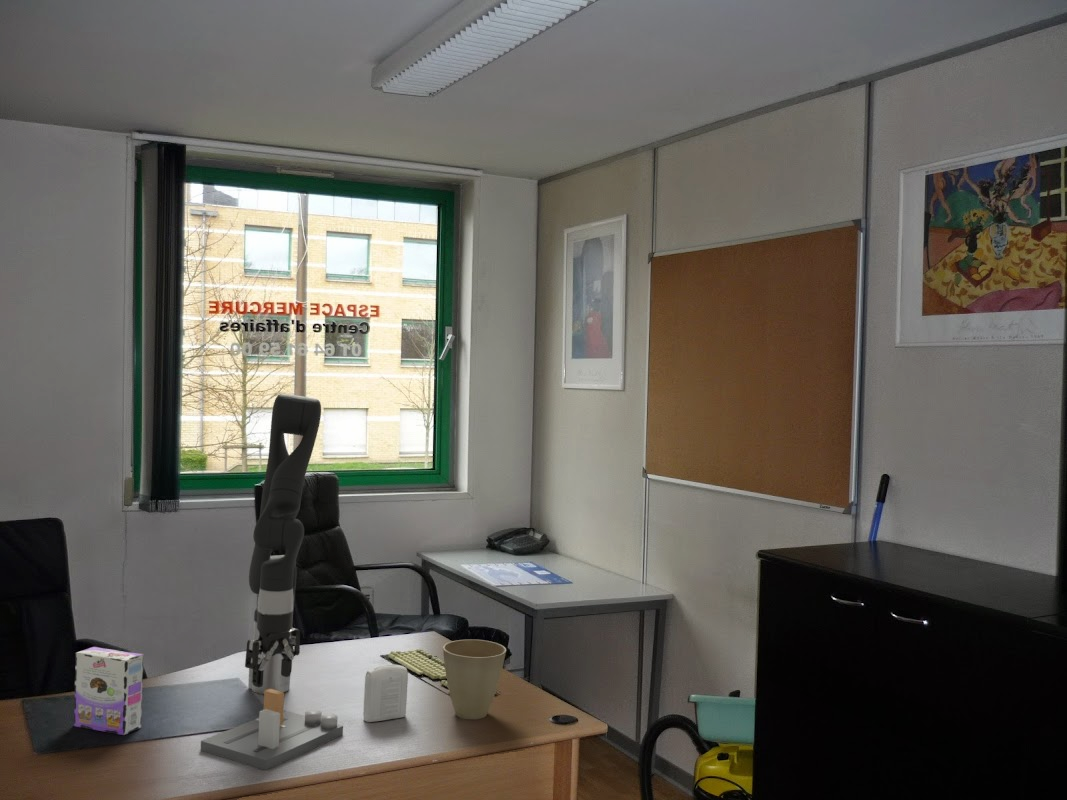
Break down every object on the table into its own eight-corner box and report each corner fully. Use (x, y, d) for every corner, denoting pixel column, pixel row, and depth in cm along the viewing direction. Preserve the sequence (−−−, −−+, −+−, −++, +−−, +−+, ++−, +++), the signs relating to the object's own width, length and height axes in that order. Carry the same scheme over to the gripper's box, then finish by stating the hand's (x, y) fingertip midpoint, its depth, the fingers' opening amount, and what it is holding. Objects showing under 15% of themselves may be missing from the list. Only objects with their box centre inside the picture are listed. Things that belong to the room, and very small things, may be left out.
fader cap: (263, 722, 224) (264, 690, 224) (268, 720, 226) (270, 688, 226) (277, 726, 223) (278, 694, 222) (282, 723, 224) (284, 692, 224)
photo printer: (400, 712, 242) (402, 660, 241) (408, 717, 238) (411, 665, 238) (360, 718, 236) (362, 665, 236) (368, 724, 233) (370, 670, 232)
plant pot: (438, 724, 235) (441, 655, 234) (441, 703, 249) (444, 638, 249) (503, 726, 235) (507, 657, 235) (502, 705, 250) (505, 640, 250)
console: (200, 750, 213) (202, 707, 212) (280, 718, 234) (282, 679, 234) (265, 770, 204) (267, 725, 204) (342, 734, 225) (344, 694, 225)
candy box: (142, 727, 224) (145, 653, 223) (123, 736, 218) (126, 660, 218) (91, 718, 228) (94, 645, 228) (72, 726, 223) (74, 651, 222)
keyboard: (379, 658, 287) (379, 650, 287) (425, 653, 295) (425, 644, 295) (461, 706, 250) (462, 696, 250) (511, 698, 258) (512, 688, 258)
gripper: (285, 599, 231) (282, 669, 232) (238, 611, 219) (235, 686, 220) (310, 605, 228) (307, 676, 229) (264, 618, 215) (261, 693, 216)
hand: (271, 681), depth 224 cm, fingers open, 8 cm apart
